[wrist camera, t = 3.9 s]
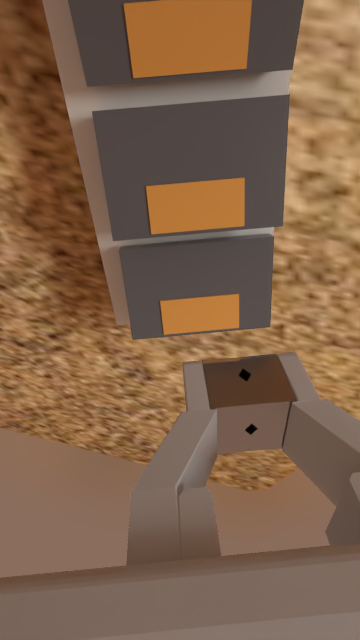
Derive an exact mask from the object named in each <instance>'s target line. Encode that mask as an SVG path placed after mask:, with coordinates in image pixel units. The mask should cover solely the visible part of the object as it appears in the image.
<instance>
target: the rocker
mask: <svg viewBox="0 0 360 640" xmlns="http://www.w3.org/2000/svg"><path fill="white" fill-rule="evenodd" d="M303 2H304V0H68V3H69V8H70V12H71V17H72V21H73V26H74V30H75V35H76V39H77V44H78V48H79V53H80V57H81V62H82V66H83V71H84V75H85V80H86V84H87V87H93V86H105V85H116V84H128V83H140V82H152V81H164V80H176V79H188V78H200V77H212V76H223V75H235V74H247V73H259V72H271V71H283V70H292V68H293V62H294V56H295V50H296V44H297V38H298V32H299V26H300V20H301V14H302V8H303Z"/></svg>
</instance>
